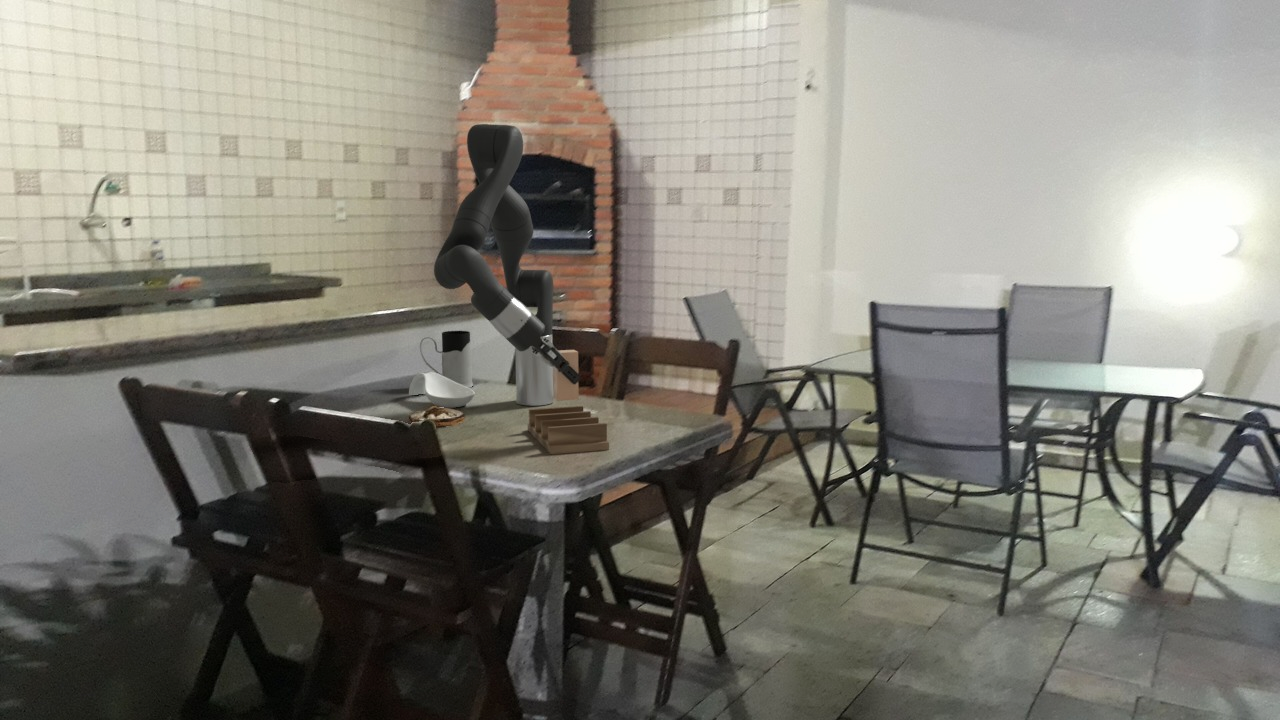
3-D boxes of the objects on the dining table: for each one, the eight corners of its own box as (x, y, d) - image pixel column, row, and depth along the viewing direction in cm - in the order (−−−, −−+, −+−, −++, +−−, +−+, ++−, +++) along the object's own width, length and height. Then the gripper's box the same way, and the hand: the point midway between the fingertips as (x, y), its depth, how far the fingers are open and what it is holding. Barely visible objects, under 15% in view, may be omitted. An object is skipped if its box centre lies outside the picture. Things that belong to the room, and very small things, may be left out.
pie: (459, 414, 225) (458, 397, 224) (478, 426, 212) (477, 408, 211) (396, 420, 218) (396, 402, 217) (412, 433, 205) (412, 415, 204)
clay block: (553, 397, 198) (552, 350, 196) (574, 396, 199) (573, 349, 197) (557, 400, 194) (557, 352, 193) (578, 399, 196) (578, 352, 194)
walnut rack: (527, 430, 206) (527, 407, 206) (580, 426, 210) (580, 404, 210) (550, 454, 186) (550, 429, 185) (609, 449, 190) (608, 425, 189)
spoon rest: (484, 407, 232) (483, 378, 231) (442, 414, 224) (441, 384, 223) (435, 393, 249) (434, 366, 248) (394, 399, 242) (393, 371, 240)
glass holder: (470, 389, 253) (469, 334, 251) (418, 389, 253) (416, 334, 251) (476, 383, 262) (474, 330, 260) (424, 383, 262) (422, 330, 259)
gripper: (537, 313, 185) (596, 371, 191) (522, 307, 198) (578, 361, 204) (510, 341, 184) (571, 398, 190) (497, 332, 197) (555, 386, 203)
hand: (575, 379), depth 197 cm, fingers closed on clay block, 3 cm apart
